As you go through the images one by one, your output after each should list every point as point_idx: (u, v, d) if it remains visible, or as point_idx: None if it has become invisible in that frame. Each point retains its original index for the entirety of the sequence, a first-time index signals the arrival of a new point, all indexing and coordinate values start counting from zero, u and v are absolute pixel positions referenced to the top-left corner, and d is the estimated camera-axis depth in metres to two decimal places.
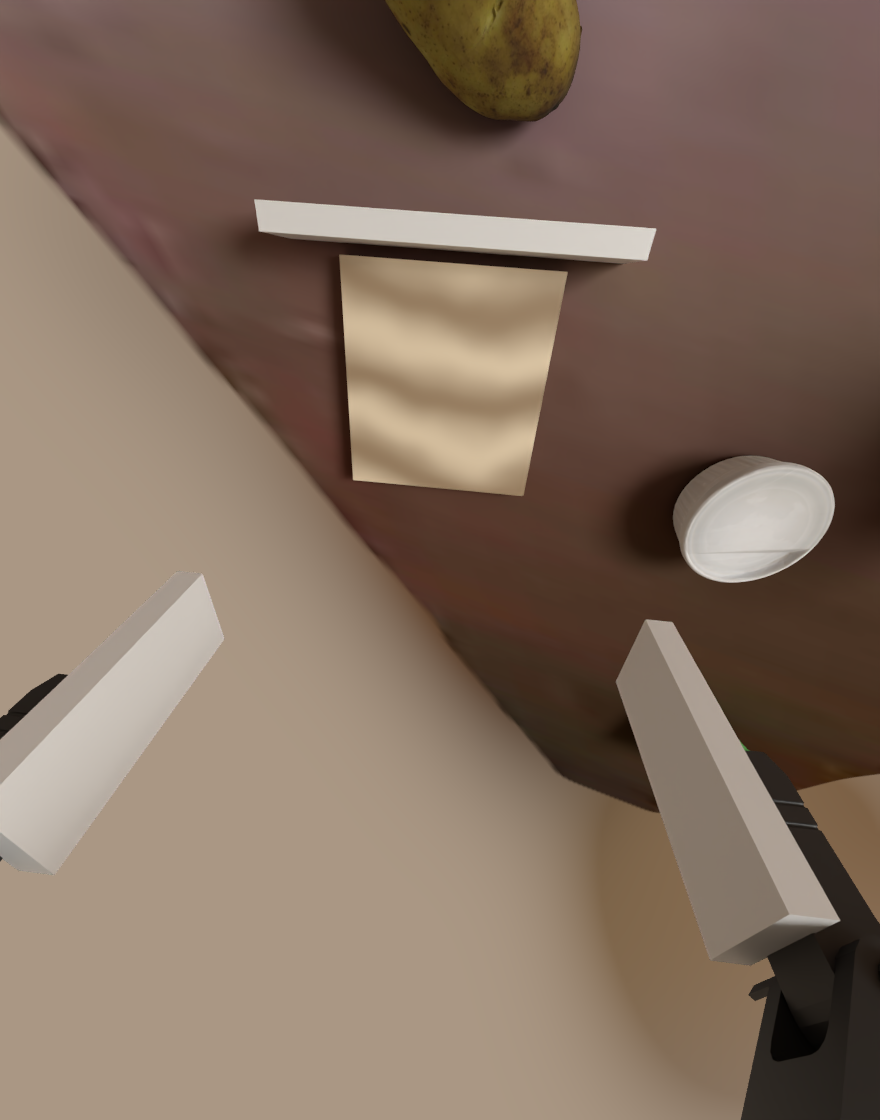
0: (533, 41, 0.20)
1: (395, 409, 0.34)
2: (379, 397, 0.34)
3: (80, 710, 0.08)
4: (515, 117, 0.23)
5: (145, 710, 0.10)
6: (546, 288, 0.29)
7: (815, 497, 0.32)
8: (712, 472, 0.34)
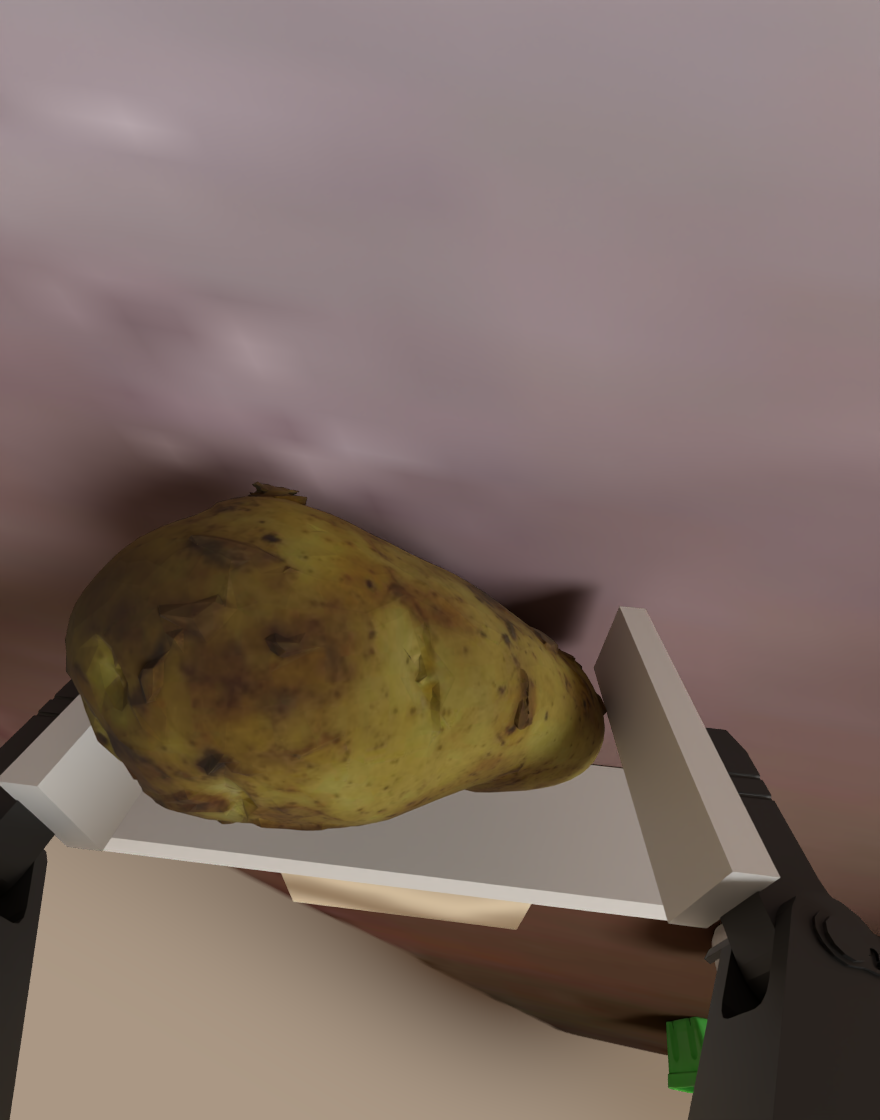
0: (519, 790, 0.11)
1: None
2: None
3: None
4: None
5: None
6: None
7: None
8: None
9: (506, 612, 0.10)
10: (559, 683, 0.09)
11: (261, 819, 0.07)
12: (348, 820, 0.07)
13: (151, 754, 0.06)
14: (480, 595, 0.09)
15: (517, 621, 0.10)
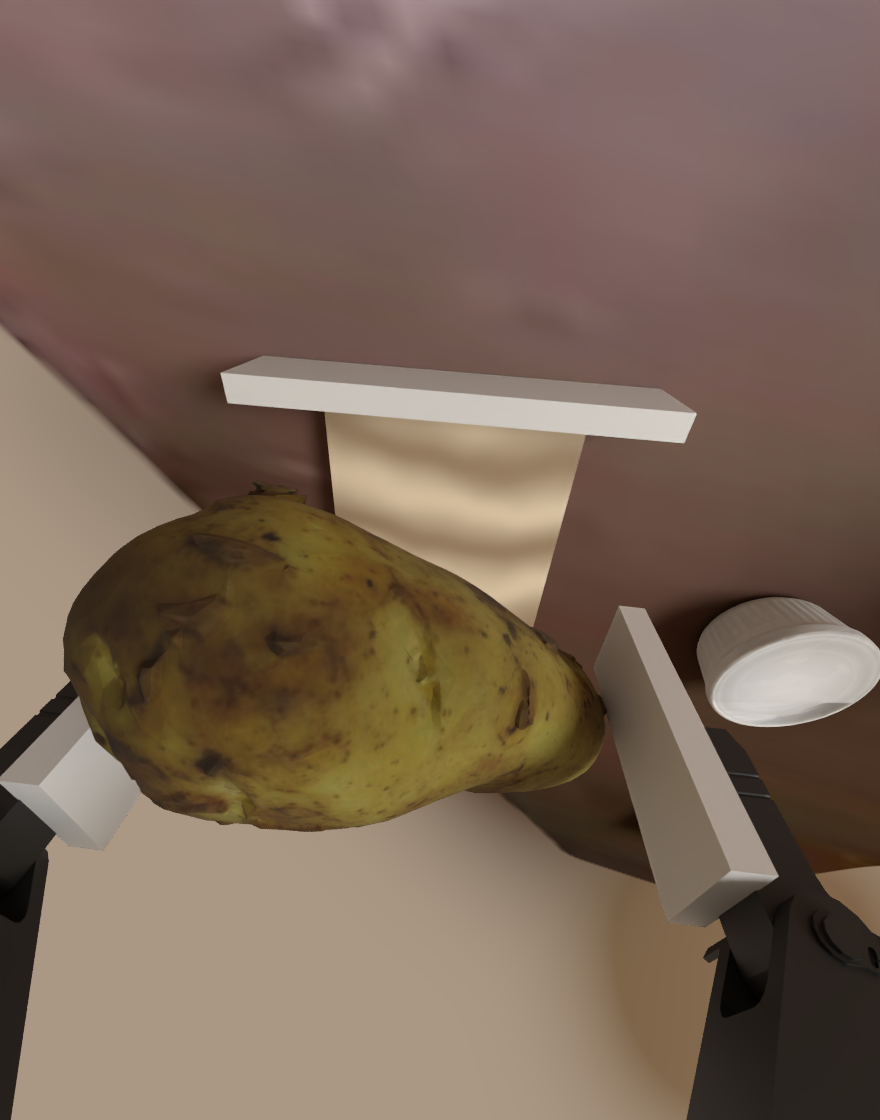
0: (520, 791, 0.11)
1: None
2: None
3: None
4: None
5: None
6: (562, 443, 0.25)
7: (862, 660, 0.28)
8: (744, 618, 0.31)
9: (507, 612, 0.10)
10: (560, 684, 0.09)
11: (260, 820, 0.07)
12: (348, 821, 0.07)
13: (150, 754, 0.06)
14: (481, 595, 0.09)
15: (518, 621, 0.10)
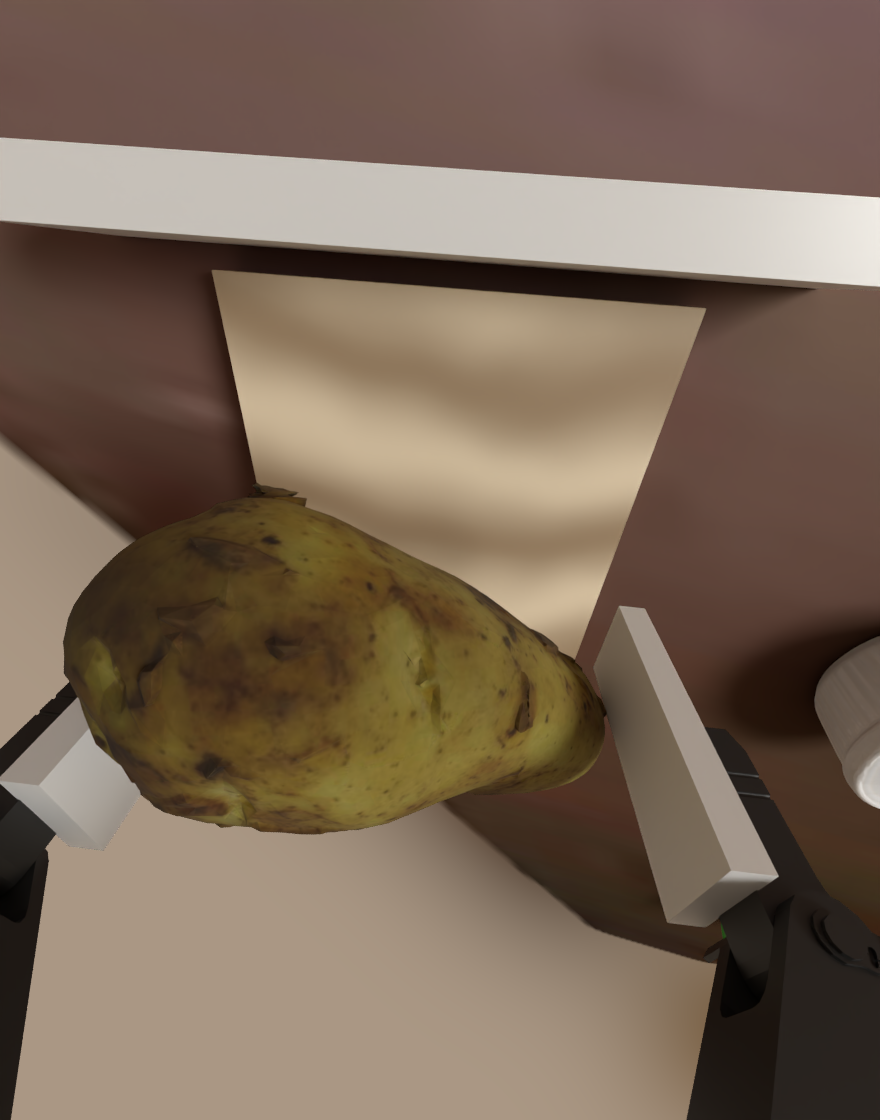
0: None
1: None
2: None
3: None
4: None
5: None
6: (654, 342, 0.13)
7: None
8: None
9: (506, 614, 0.10)
10: (559, 686, 0.09)
11: (260, 823, 0.07)
12: (347, 824, 0.07)
13: (150, 757, 0.06)
14: (480, 597, 0.09)
15: (517, 623, 0.10)
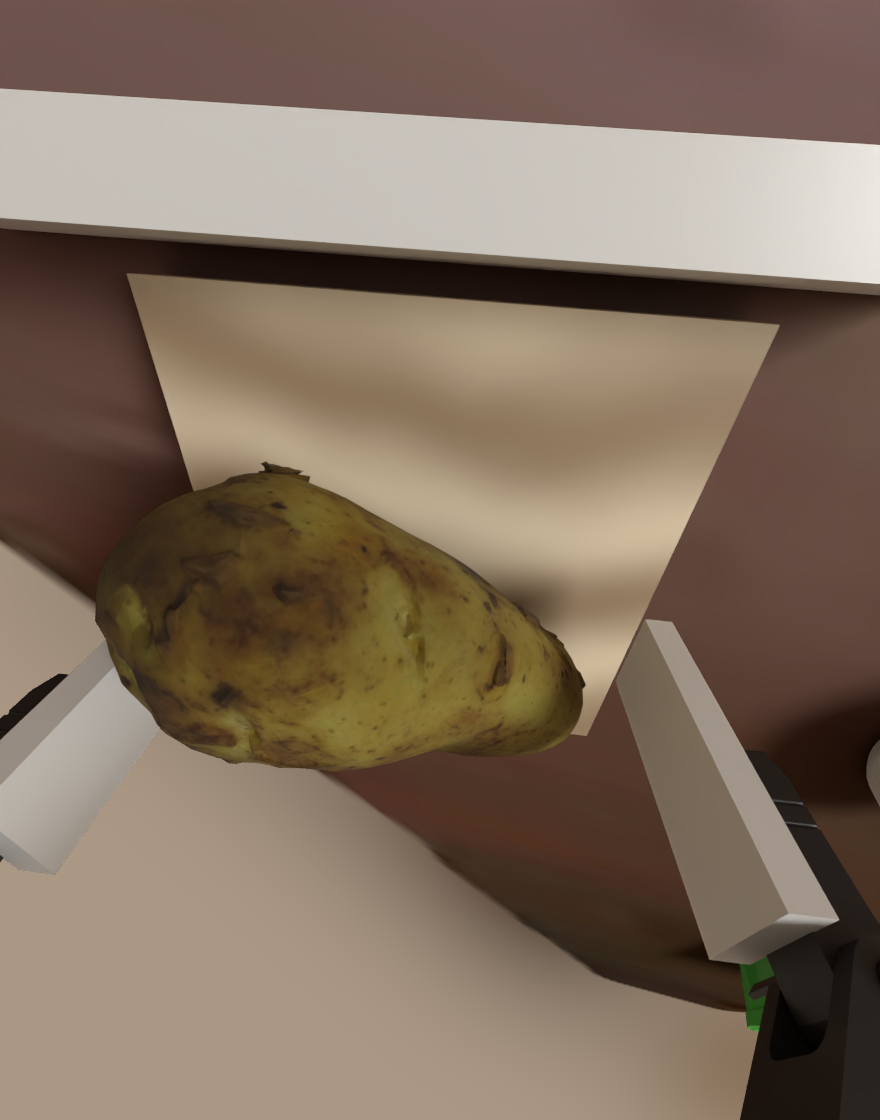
0: (501, 755, 0.12)
1: None
2: None
3: (81, 710, 0.08)
4: None
5: (145, 709, 0.10)
6: (707, 367, 0.10)
7: None
8: None
9: (491, 587, 0.11)
10: (537, 652, 0.10)
11: (264, 755, 0.08)
12: (341, 758, 0.08)
13: (172, 687, 0.07)
14: (467, 570, 0.10)
15: (501, 595, 0.11)
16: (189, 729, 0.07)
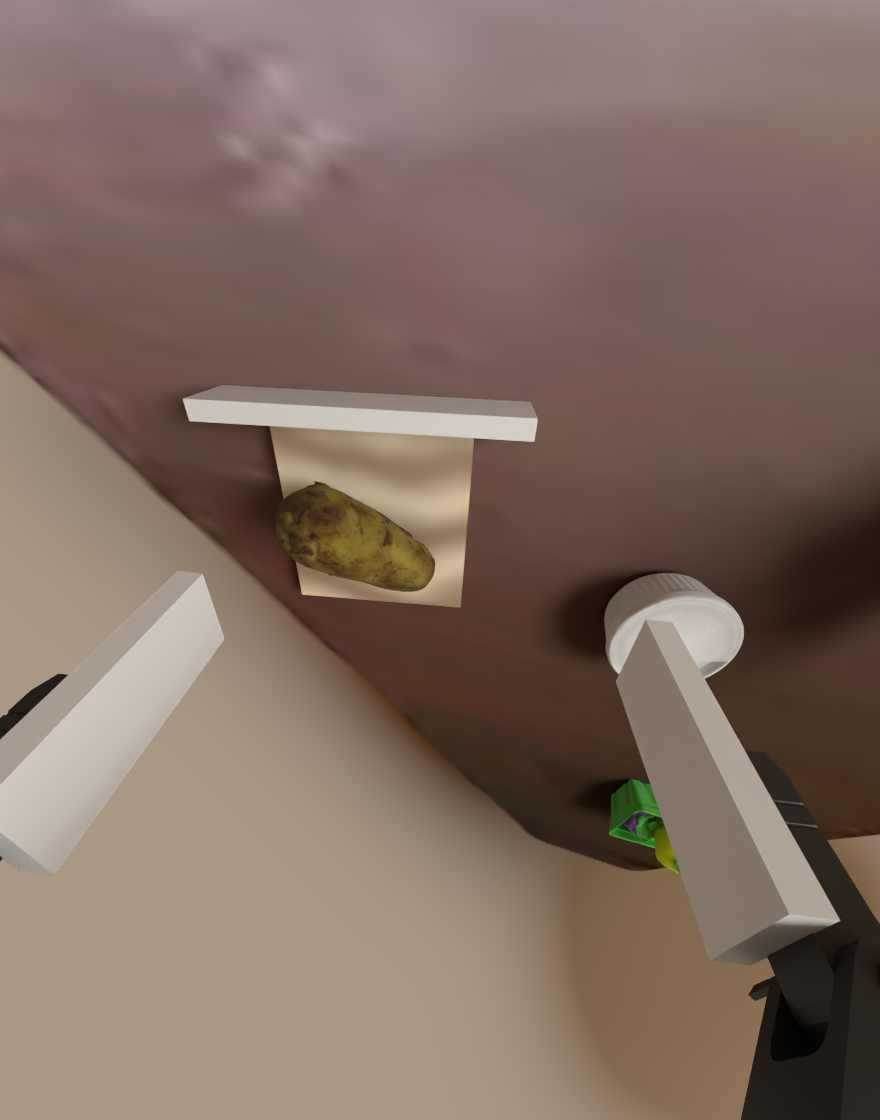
0: (399, 583, 0.33)
1: None
2: None
3: (80, 710, 0.08)
4: None
5: (144, 710, 0.10)
6: (457, 446, 0.31)
7: (723, 621, 0.34)
8: (631, 591, 0.37)
9: (390, 520, 0.32)
10: (404, 540, 0.31)
11: (320, 558, 0.29)
12: (340, 559, 0.29)
13: (300, 534, 0.28)
14: (381, 514, 0.31)
15: (393, 523, 0.32)
16: (302, 548, 0.28)
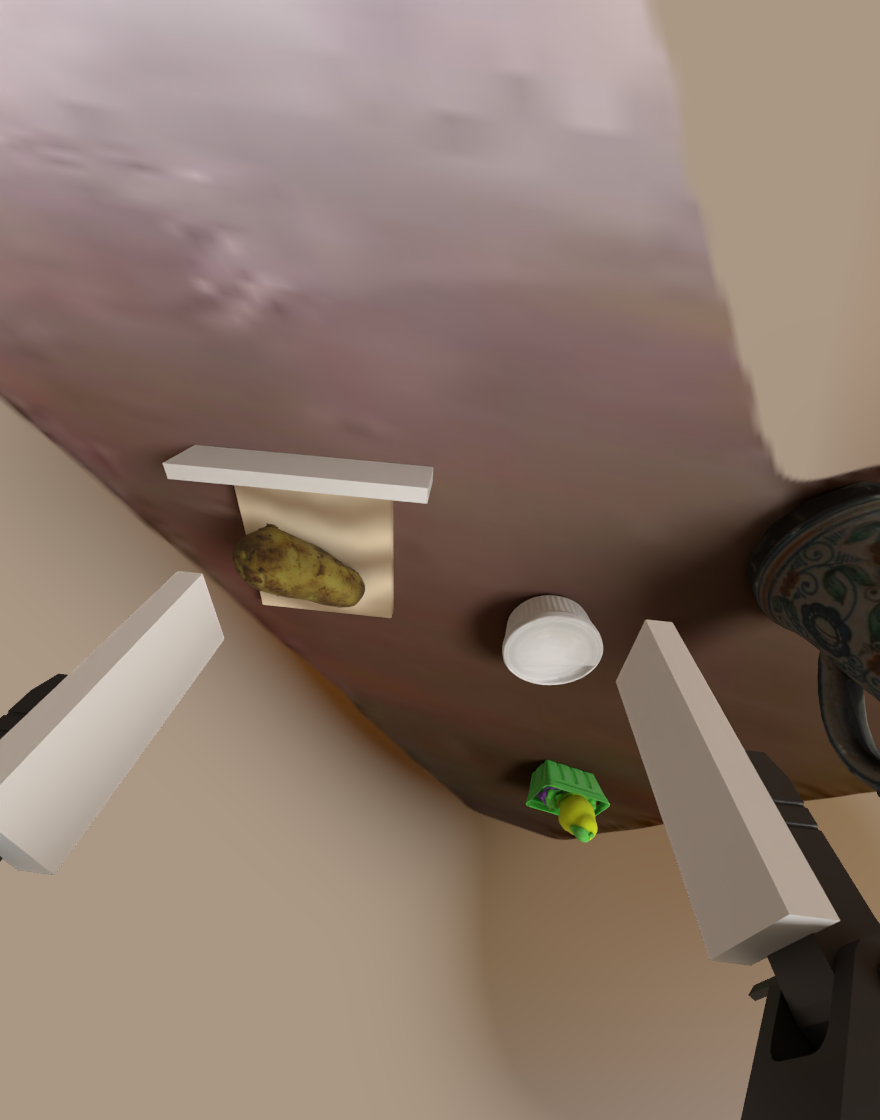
0: (333, 602, 0.42)
1: None
2: None
3: (80, 710, 0.08)
4: None
5: (144, 710, 0.10)
6: None
7: (585, 635, 0.44)
8: (522, 609, 0.46)
9: (325, 554, 0.41)
10: (336, 570, 0.41)
11: (267, 585, 0.38)
12: (283, 586, 0.38)
13: (251, 568, 0.37)
14: (318, 549, 0.41)
15: (328, 556, 0.41)
16: (253, 578, 0.37)
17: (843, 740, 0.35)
